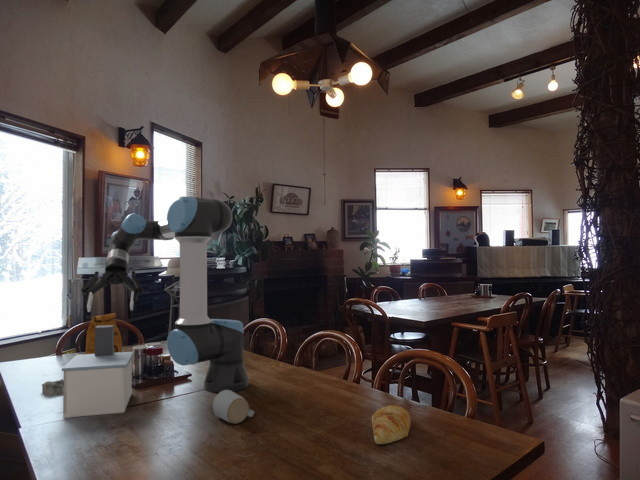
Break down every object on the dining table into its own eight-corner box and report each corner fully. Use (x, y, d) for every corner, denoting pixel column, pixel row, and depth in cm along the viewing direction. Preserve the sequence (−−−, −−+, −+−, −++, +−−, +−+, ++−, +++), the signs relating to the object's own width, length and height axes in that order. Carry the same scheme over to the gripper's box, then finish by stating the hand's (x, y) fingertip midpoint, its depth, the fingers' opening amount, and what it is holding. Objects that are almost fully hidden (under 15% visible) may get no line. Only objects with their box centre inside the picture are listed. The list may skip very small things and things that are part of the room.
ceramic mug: (227, 428, 122) (228, 398, 123) (211, 420, 128) (212, 392, 129) (260, 418, 130) (260, 391, 130) (243, 411, 136) (244, 385, 136)
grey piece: (44, 397, 150) (44, 385, 150) (40, 392, 155) (40, 380, 156) (80, 391, 156) (80, 379, 156) (76, 386, 162) (76, 374, 162)
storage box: (77, 398, 148) (78, 357, 148) (131, 394, 152) (131, 354, 152) (63, 417, 130) (63, 371, 131) (124, 412, 135) (124, 367, 135)
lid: (76, 357, 148) (76, 326, 148) (133, 354, 153) (133, 324, 153) (61, 371, 131) (62, 336, 131) (126, 366, 135) (126, 333, 135)
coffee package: (125, 367, 187) (126, 313, 188) (99, 375, 176) (100, 317, 177) (108, 365, 192) (108, 311, 192) (81, 372, 180) (82, 315, 181)
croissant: (389, 465, 109) (404, 437, 107) (353, 438, 112) (368, 411, 111) (412, 431, 128) (425, 407, 126) (380, 409, 132) (393, 386, 130)
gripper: (152, 270, 180) (149, 314, 165) (82, 271, 173) (71, 316, 158) (151, 256, 175) (147, 300, 160) (79, 257, 168) (68, 302, 153)
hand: (110, 308), depth 159 cm, fingers open, 13 cm apart
